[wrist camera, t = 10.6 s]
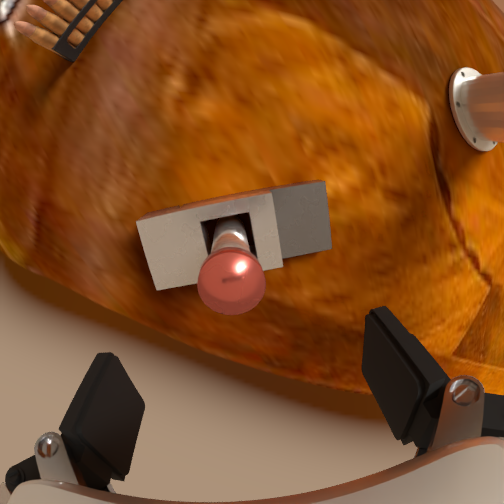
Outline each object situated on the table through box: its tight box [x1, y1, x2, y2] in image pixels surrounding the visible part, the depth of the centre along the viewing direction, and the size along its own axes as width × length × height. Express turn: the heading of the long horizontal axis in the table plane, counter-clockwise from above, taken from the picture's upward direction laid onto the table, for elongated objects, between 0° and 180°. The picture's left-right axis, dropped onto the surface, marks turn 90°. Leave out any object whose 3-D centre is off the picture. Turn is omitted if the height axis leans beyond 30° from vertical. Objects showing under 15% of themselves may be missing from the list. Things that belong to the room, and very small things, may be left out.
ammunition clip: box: [14, 0, 122, 62], centre depth 13 cm, size 11×2×12 cm, turn 146°
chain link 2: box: [181, 180, 332, 259], centre depth 28 cm, size 14×7×2 cm, turn 100°
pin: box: [197, 215, 266, 315], centre depth 22 cm, size 4×4×13 cm
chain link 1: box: [136, 190, 283, 290], centre depth 27 cm, size 12×7×4 cm, turn 100°
